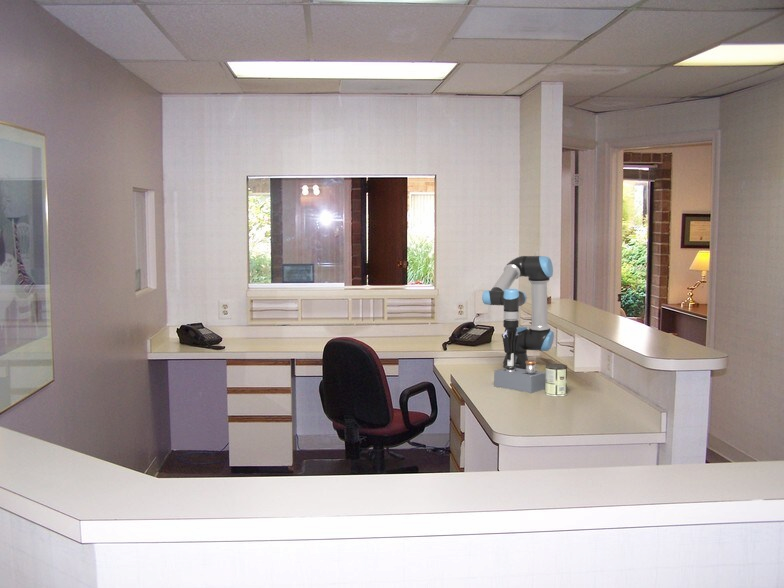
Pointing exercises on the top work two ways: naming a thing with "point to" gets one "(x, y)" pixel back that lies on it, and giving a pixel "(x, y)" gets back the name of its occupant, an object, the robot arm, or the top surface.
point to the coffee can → (556, 380)
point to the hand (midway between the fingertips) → (510, 365)
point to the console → (519, 380)
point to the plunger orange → (530, 367)
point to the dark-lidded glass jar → (510, 368)
